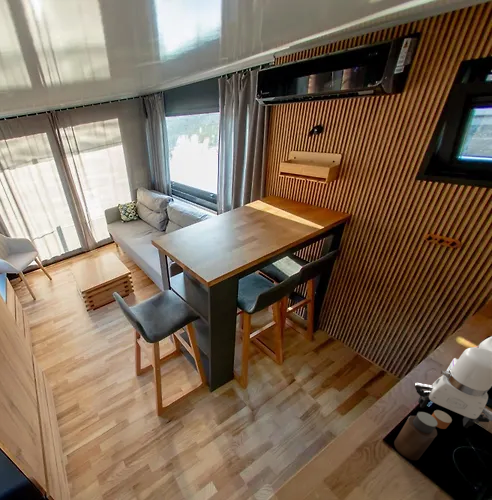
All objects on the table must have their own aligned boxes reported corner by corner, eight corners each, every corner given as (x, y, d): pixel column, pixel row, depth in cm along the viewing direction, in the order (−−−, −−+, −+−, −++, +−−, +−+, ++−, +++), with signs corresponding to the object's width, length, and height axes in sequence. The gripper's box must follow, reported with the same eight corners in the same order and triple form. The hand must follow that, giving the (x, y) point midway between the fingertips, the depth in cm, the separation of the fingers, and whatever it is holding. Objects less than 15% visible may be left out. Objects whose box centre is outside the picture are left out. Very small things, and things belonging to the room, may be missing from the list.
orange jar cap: (446, 421, 86) (451, 415, 85) (447, 431, 84) (452, 425, 82) (429, 414, 89) (434, 407, 87) (429, 423, 87) (434, 417, 85)
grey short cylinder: (432, 425, 75) (437, 417, 73) (432, 436, 73) (437, 429, 71) (413, 416, 78) (417, 408, 76) (412, 427, 75) (417, 420, 74)
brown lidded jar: (420, 447, 82) (437, 424, 75) (419, 465, 78) (437, 442, 72) (394, 434, 86) (408, 411, 79) (393, 450, 82) (407, 427, 75)
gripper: (424, 375, 80) (405, 406, 88) (517, 411, 68) (485, 443, 76) (425, 359, 84) (406, 389, 92) (512, 390, 73) (482, 422, 81)
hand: (442, 414), depth 84 cm, fingers open, 9 cm apart
